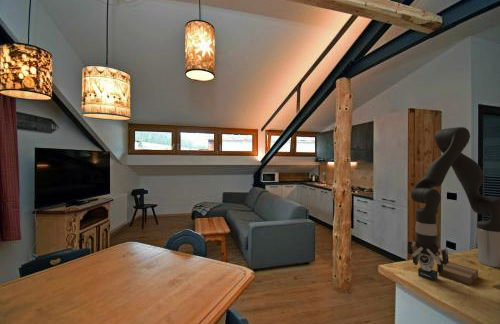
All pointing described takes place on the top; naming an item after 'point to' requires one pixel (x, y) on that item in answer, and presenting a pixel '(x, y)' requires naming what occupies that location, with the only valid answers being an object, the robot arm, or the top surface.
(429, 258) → the watch
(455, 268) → the plinth
